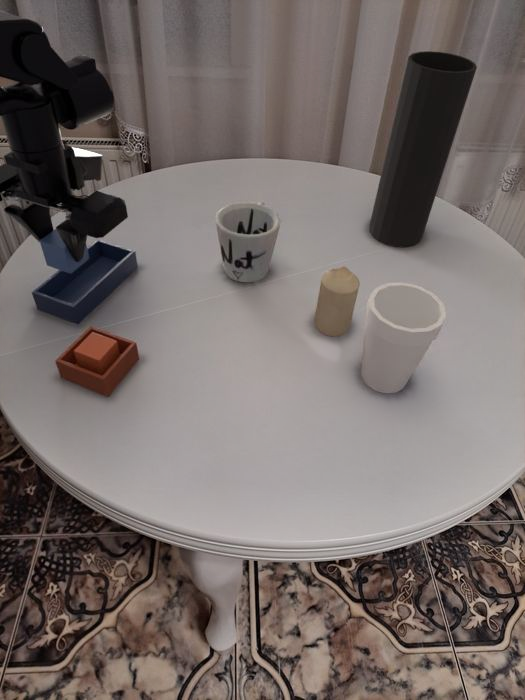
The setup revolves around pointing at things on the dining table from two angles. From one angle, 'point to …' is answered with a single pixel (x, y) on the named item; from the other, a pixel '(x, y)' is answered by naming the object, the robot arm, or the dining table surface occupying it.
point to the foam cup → (398, 333)
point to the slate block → (60, 253)
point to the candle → (336, 301)
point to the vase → (419, 144)
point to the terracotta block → (97, 353)
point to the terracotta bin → (90, 379)
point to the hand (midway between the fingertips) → (66, 256)
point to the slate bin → (86, 282)
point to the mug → (247, 239)
